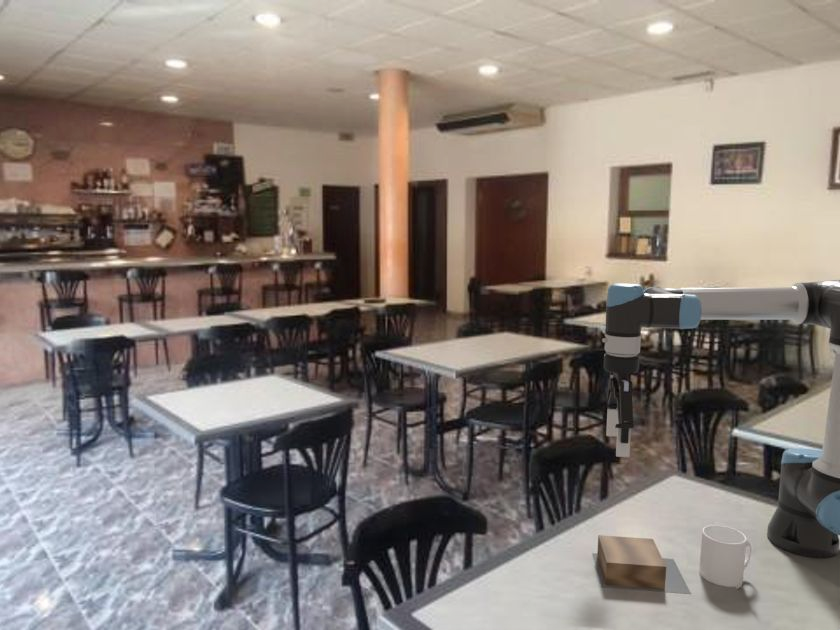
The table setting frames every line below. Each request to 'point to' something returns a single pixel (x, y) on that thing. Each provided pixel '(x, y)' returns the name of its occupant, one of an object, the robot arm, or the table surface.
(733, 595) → the table surface
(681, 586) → the slate tile
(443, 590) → the table surface
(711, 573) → the mug
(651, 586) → the walnut block
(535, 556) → the table surface
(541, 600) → the table surface
